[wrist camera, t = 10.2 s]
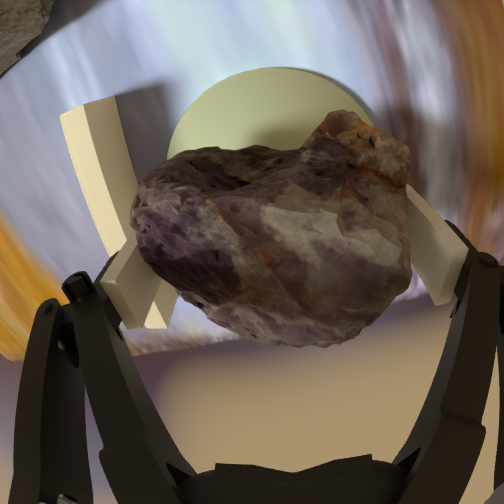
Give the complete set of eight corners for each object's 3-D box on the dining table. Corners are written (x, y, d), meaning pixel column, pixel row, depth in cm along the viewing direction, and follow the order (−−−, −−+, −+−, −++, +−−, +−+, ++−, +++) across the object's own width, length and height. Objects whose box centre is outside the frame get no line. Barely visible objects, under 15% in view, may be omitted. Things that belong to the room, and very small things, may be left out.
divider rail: (158, 296, 26) (146, 328, 23) (92, 104, 16) (59, 115, 13) (178, 295, 26) (167, 328, 22) (114, 95, 16) (83, 104, 12)
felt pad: (196, 272, 24) (195, 277, 24) (147, 92, 16) (144, 92, 15) (374, 256, 22) (376, 261, 22) (378, 66, 14) (381, 65, 13)
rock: (182, 118, 15) (210, 262, 20) (78, 164, 8) (159, 359, 13) (395, 111, 12) (380, 268, 18) (475, 151, 5) (400, 380, 11)
